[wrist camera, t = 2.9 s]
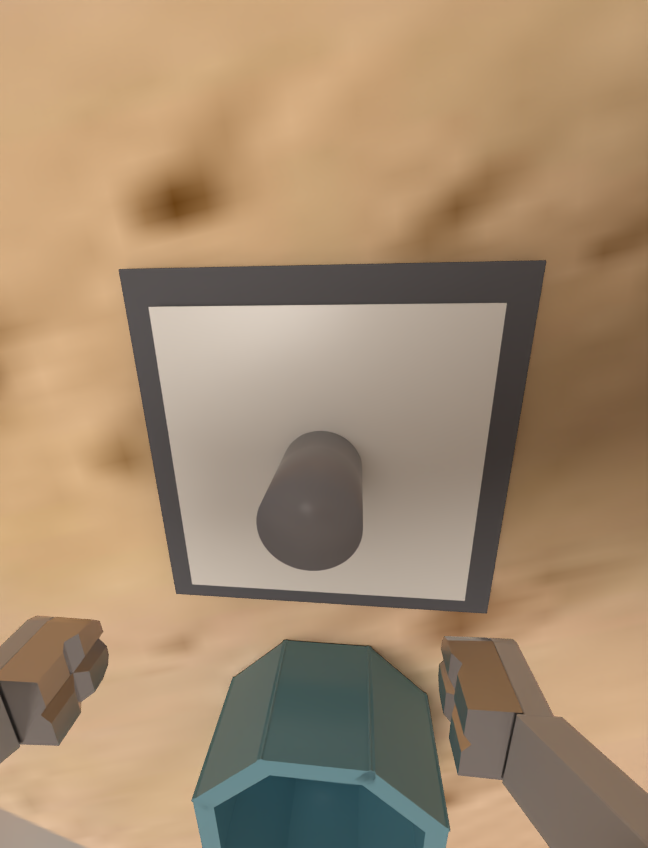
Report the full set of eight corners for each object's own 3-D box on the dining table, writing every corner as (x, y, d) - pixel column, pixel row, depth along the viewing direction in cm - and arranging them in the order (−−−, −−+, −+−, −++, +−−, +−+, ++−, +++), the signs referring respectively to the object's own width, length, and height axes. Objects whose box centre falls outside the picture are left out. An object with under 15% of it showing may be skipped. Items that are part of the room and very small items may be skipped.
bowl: (432, 650, 21) (459, 779, 15) (417, 783, 25) (434, 926, 19) (226, 635, 22) (180, 750, 16) (243, 765, 26) (210, 894, 20)
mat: (539, 261, 14) (546, 260, 14) (483, 605, 20) (486, 613, 19) (125, 269, 16) (118, 269, 15) (180, 587, 21) (176, 593, 21)
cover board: (499, 302, 14) (573, 304, 9) (460, 588, 19) (496, 693, 14) (158, 306, 16) (63, 310, 11) (198, 573, 20) (145, 664, 15)
